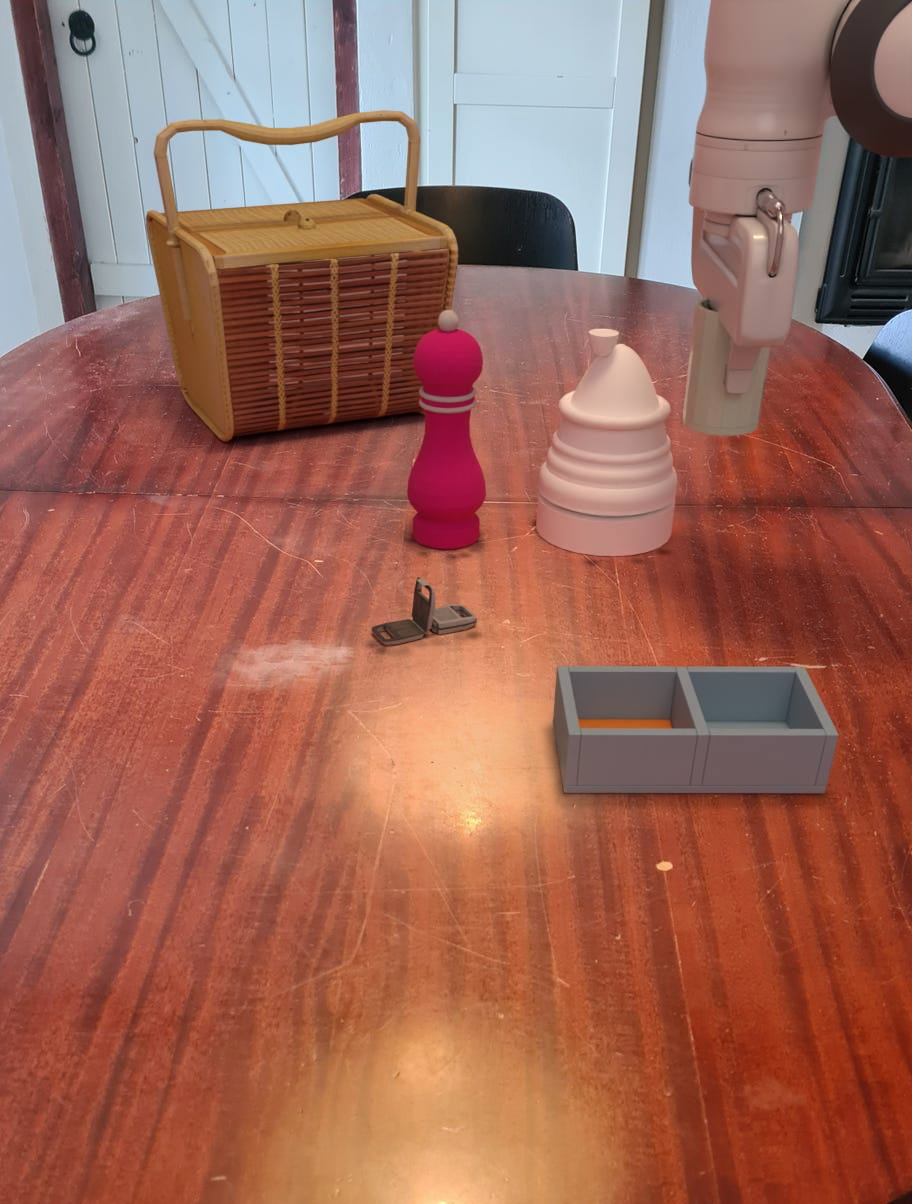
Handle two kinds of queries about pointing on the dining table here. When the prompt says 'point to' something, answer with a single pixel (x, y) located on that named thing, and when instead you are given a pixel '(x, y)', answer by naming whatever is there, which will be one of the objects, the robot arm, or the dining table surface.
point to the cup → (719, 381)
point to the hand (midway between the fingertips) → (726, 376)
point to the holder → (691, 730)
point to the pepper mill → (447, 439)
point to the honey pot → (609, 460)
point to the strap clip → (426, 618)
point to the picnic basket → (299, 295)
